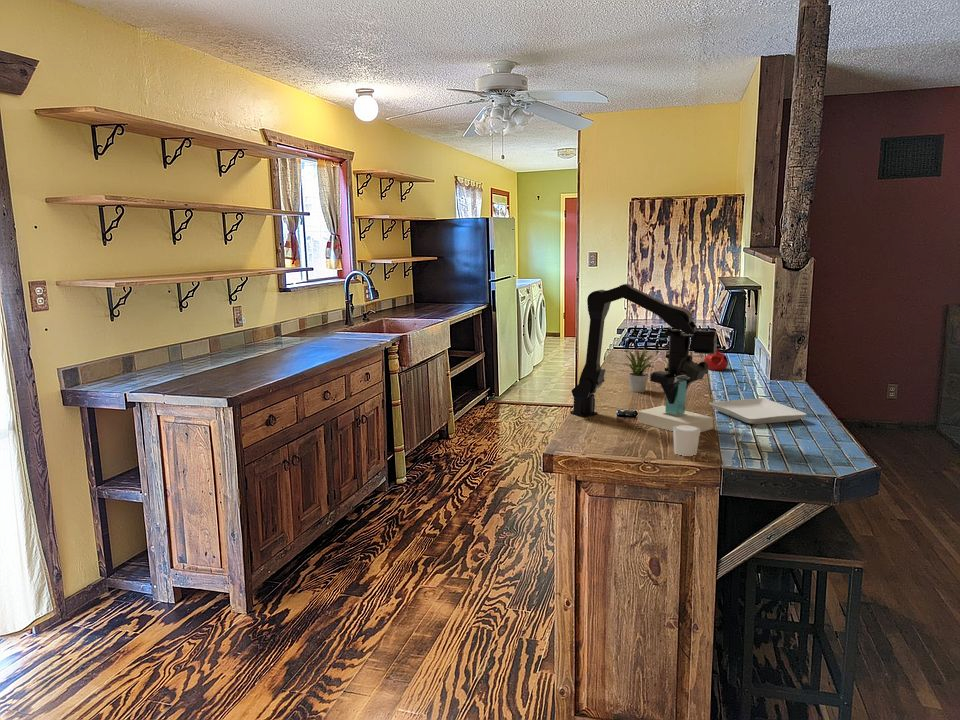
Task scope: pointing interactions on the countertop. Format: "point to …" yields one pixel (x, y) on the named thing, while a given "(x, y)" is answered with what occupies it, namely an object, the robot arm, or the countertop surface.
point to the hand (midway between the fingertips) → (675, 402)
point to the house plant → (638, 371)
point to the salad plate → (758, 411)
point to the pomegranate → (716, 361)
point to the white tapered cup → (686, 439)
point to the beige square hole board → (673, 419)
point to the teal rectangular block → (678, 399)
